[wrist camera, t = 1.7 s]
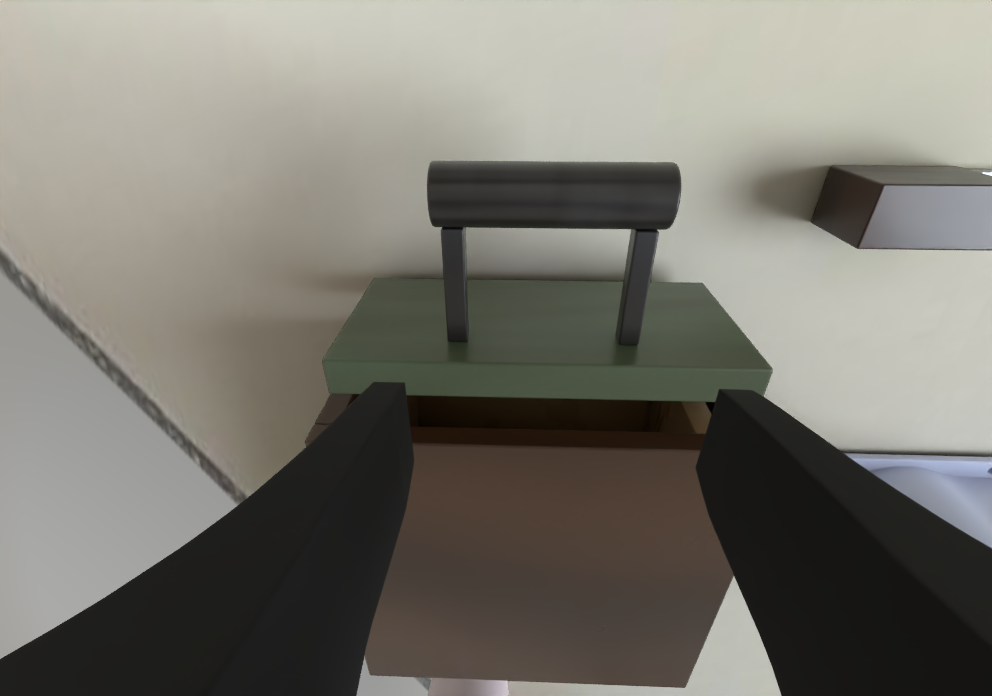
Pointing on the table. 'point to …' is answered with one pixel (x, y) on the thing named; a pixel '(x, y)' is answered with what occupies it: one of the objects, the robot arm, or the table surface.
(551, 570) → the cabinet
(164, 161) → the table surface
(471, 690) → the smoothie
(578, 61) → the table surface
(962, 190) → the knife
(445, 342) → the drawer
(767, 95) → the table surface
